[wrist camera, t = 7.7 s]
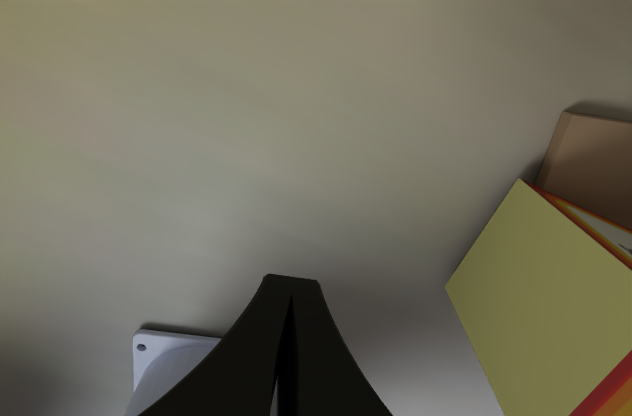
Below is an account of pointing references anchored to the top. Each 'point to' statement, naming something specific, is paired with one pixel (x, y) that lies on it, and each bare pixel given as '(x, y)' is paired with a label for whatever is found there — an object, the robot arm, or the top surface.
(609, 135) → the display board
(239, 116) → the top surface
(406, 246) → the top surface
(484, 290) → the baking soda box
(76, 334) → the top surface
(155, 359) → the robot arm
